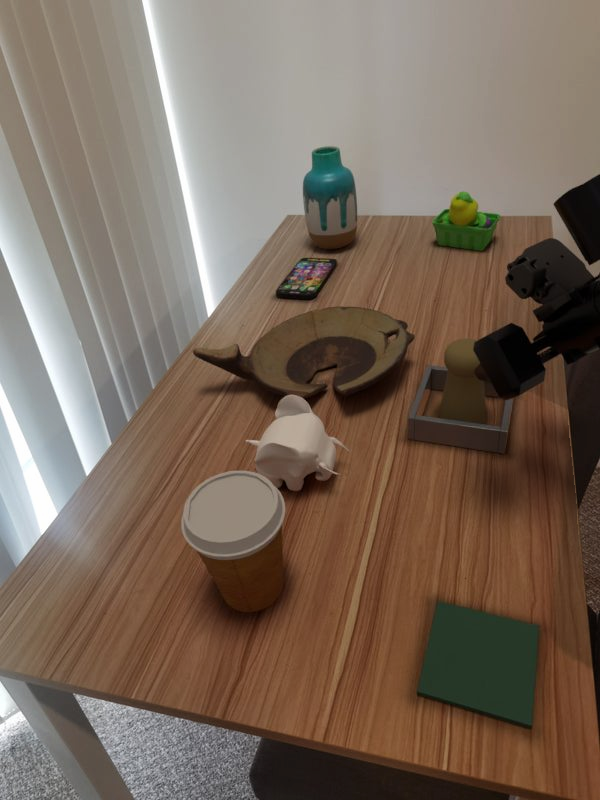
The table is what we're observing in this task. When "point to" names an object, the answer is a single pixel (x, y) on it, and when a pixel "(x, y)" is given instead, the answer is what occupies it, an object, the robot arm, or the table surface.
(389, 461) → the table surface
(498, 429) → the holder
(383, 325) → the brown shallow dish
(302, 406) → the elephant figurine
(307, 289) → the smartphone
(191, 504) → the disposable coffee cup
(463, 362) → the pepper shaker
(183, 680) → the table surface
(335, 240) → the vase
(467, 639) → the coaster
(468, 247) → the fruit basket
